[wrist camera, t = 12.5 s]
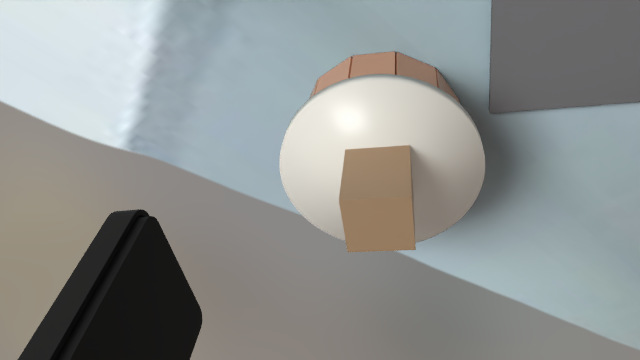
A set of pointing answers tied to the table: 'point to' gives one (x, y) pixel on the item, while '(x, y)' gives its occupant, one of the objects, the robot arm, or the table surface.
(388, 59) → the bowl
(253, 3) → the table surface
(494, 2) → the mat
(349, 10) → the table surface
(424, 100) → the lid
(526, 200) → the table surface
